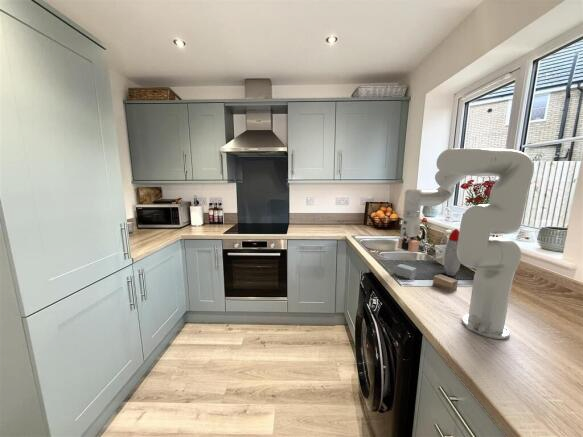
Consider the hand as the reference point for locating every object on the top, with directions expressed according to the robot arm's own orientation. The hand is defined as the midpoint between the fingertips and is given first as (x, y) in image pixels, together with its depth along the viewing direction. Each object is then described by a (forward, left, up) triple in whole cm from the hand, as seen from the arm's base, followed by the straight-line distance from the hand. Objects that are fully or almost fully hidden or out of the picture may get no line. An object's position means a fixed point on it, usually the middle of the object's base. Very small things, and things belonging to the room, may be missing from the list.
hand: (408, 248), depth 121 cm
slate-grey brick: (0, 0, -15) cm, 15 cm away
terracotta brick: (0, 0, -1) cm, 1 cm away
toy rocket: (+23, -12, -15) cm, 30 cm away
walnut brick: (+2, -18, -15) cm, 24 cm away
